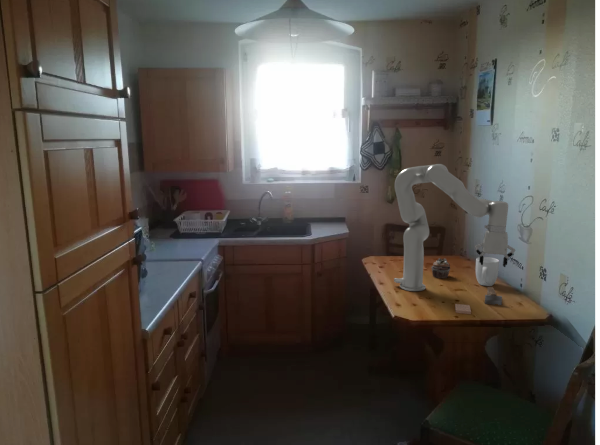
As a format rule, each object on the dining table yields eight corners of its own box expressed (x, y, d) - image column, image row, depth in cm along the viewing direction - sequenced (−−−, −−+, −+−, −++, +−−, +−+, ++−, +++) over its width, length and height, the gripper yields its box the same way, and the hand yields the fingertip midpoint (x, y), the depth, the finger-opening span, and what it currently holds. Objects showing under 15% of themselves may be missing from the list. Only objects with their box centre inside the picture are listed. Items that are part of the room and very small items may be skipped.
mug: (494, 291, 231) (496, 265, 229) (471, 287, 237) (472, 262, 234) (498, 283, 244) (500, 258, 242) (476, 279, 249) (478, 255, 247)
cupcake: (445, 273, 261) (446, 256, 259) (452, 278, 252) (453, 260, 250) (428, 273, 261) (429, 256, 259) (434, 279, 251) (435, 260, 249)
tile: (455, 307, 210) (455, 313, 203) (455, 303, 210) (456, 310, 203) (469, 308, 209) (470, 315, 201) (469, 305, 209) (470, 311, 201)
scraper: (484, 303, 214) (485, 294, 213) (481, 295, 225) (482, 286, 224) (501, 305, 212) (502, 295, 211) (497, 296, 223) (498, 287, 223)
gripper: (477, 228, 211) (473, 265, 214) (519, 231, 207) (514, 269, 210) (475, 225, 218) (472, 261, 221) (515, 228, 214) (511, 264, 217)
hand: (492, 265), depth 216 cm, fingers open, 9 cm apart
